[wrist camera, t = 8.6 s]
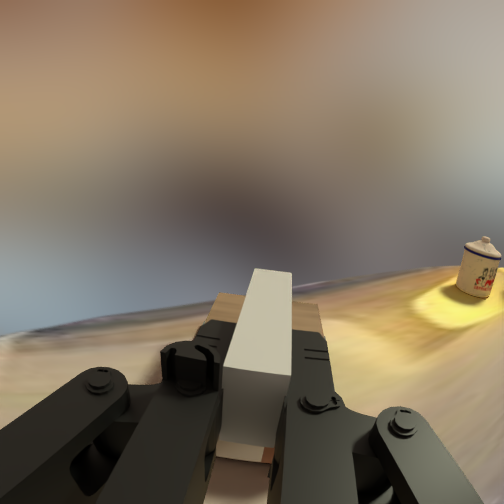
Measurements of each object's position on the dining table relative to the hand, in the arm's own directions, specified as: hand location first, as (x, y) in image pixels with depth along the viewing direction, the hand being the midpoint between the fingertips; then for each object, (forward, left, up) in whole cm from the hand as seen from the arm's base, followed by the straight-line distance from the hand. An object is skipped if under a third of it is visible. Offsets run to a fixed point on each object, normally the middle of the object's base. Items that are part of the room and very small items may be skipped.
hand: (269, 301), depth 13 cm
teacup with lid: (-12, -60, -13) cm, 63 cm away
